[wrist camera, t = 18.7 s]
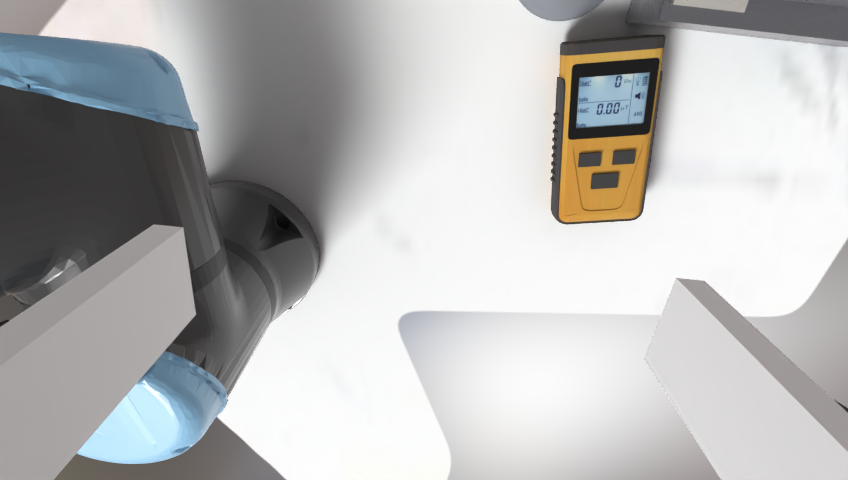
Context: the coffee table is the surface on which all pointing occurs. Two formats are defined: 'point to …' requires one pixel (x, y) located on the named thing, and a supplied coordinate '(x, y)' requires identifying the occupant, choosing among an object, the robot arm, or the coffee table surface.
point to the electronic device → (604, 127)
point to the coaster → (560, 8)
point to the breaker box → (751, 18)
